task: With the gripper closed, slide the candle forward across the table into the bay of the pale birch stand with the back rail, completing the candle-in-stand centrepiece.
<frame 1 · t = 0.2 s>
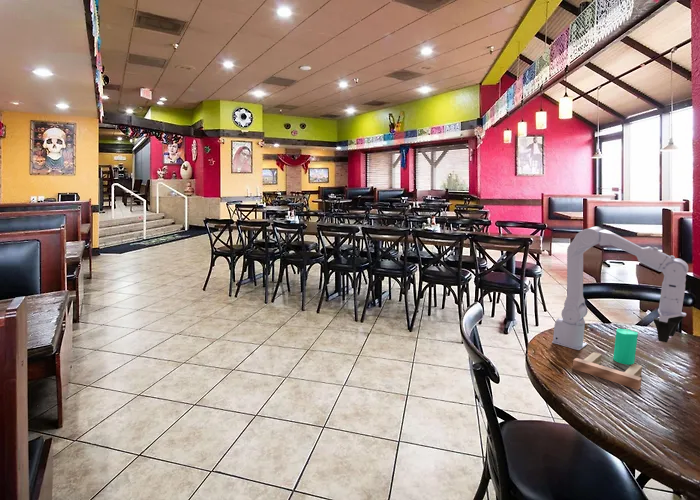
hand: (666, 338, 130), 10 cm above the table, tool pointing down, fingers open, 7 cm apart
stand: (611, 371, 130), on the table
candle: (623, 361, 137), on the table
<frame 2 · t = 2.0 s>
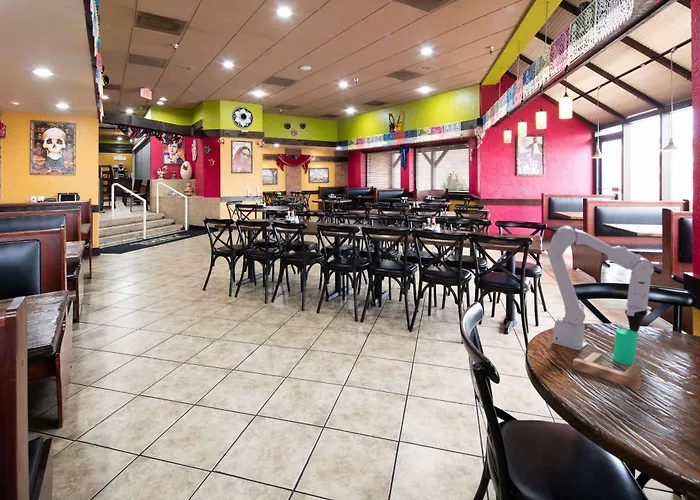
hand: (634, 331, 141), 8 cm above the table, tool pointing down, fingers closed
nothing on the table moved.
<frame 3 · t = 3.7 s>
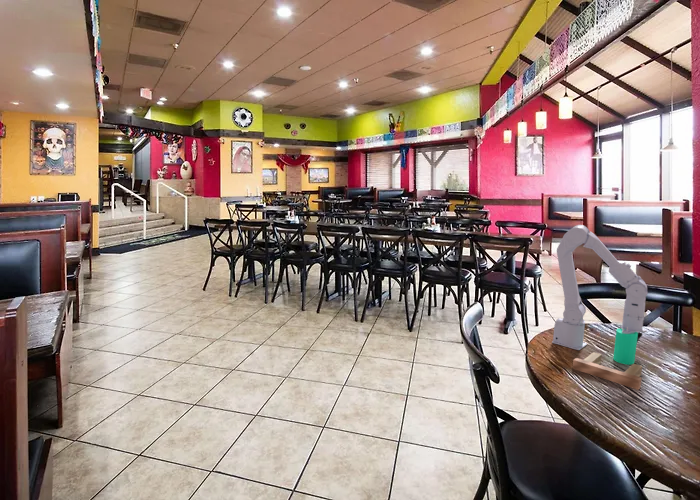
hand: (629, 352, 141), 1 cm above the table, tool pointing down, fingers closed
candle: (623, 361, 137), on the table, touching gripper
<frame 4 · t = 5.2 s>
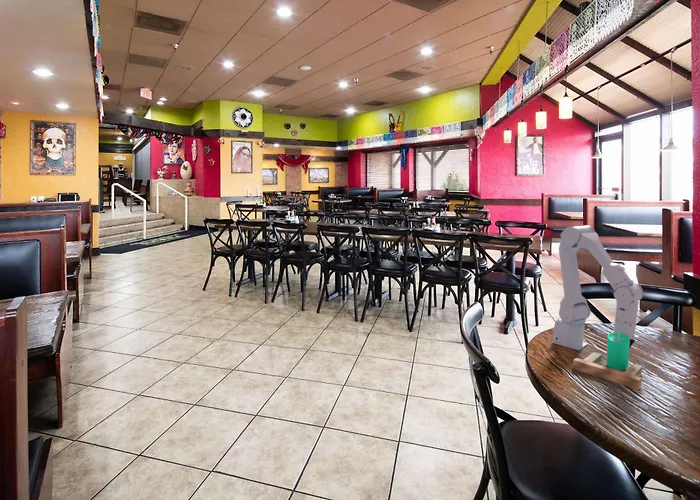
hand: (621, 359, 135), 1 cm above the table, tool pointing down, fingers closed
candle: (617, 364, 133), point 1 cm above the table, touching gripper
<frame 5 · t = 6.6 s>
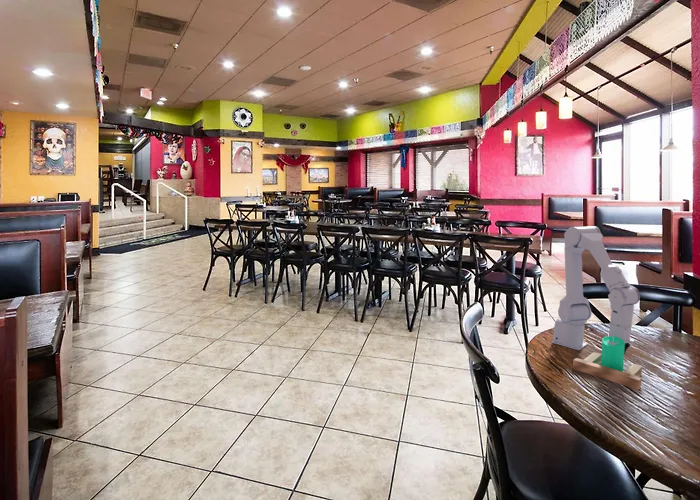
hand: (616, 363, 132), 1 cm above the table, tool pointing down, fingers closed
candle: (611, 369, 130), point 1 cm above the table, touching gripper
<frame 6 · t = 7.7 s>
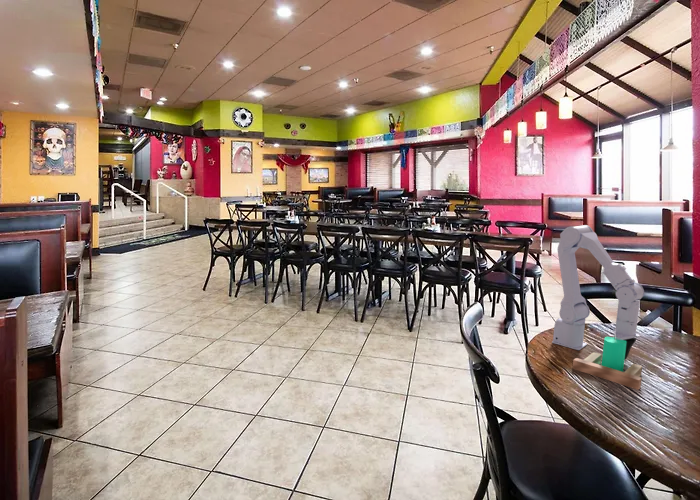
hand: (622, 358, 136), 1 cm above the table, tool pointing down, fingers closed
candle: (611, 371, 130), on the table
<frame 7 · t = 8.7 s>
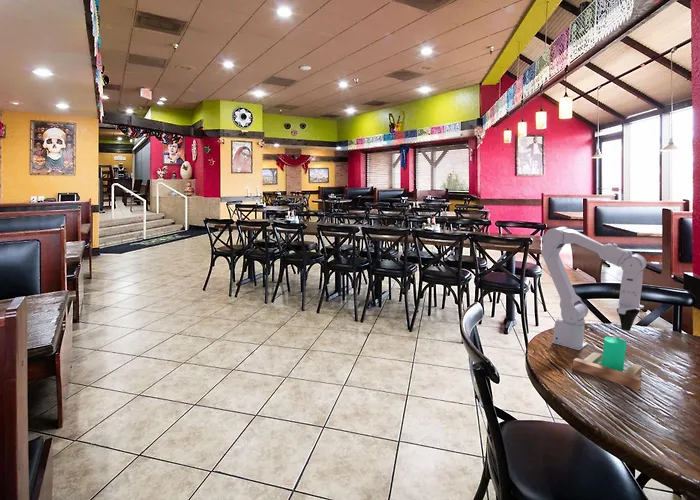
hand: (625, 329, 137), 10 cm above the table, tool pointing down, fingers closed
nothing on the table moved.
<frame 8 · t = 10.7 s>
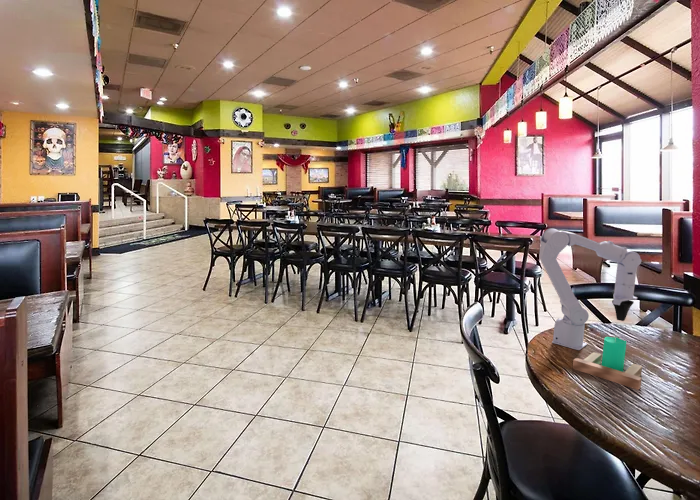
hand: (620, 320, 146), 10 cm above the table, tool pointing down, fingers closed
nothing on the table moved.
at the end: candle 0.7 cm off-centre on the stand, point 0.0 cm above the stand's base; candle tilted 0° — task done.
